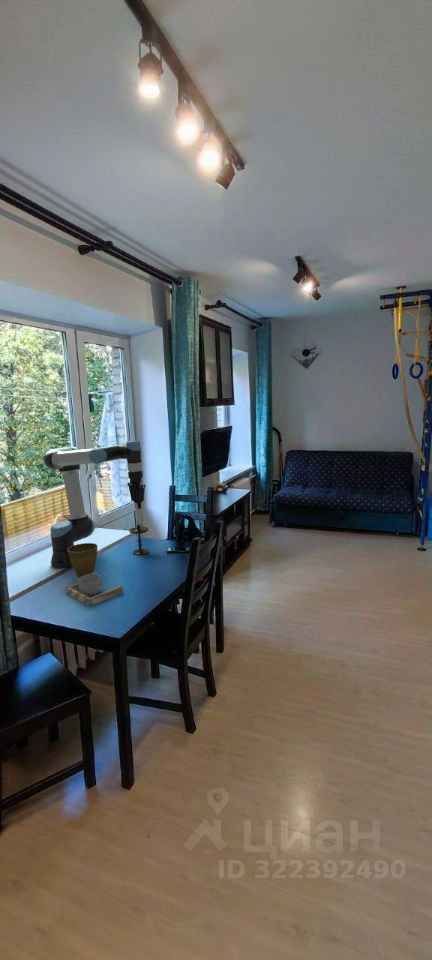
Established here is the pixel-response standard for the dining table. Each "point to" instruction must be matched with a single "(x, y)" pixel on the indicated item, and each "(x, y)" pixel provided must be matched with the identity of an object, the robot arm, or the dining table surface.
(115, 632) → the dining table surface
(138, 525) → the candlestick
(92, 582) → the teacup
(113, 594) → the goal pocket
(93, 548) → the plant pot
